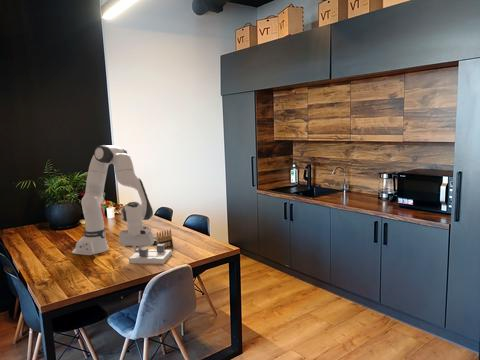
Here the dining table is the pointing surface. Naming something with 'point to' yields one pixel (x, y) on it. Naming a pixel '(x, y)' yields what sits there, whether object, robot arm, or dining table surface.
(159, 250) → the tab far
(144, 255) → the tab near
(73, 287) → the dining table surface
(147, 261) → the switch panel
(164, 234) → the ammunition clip
